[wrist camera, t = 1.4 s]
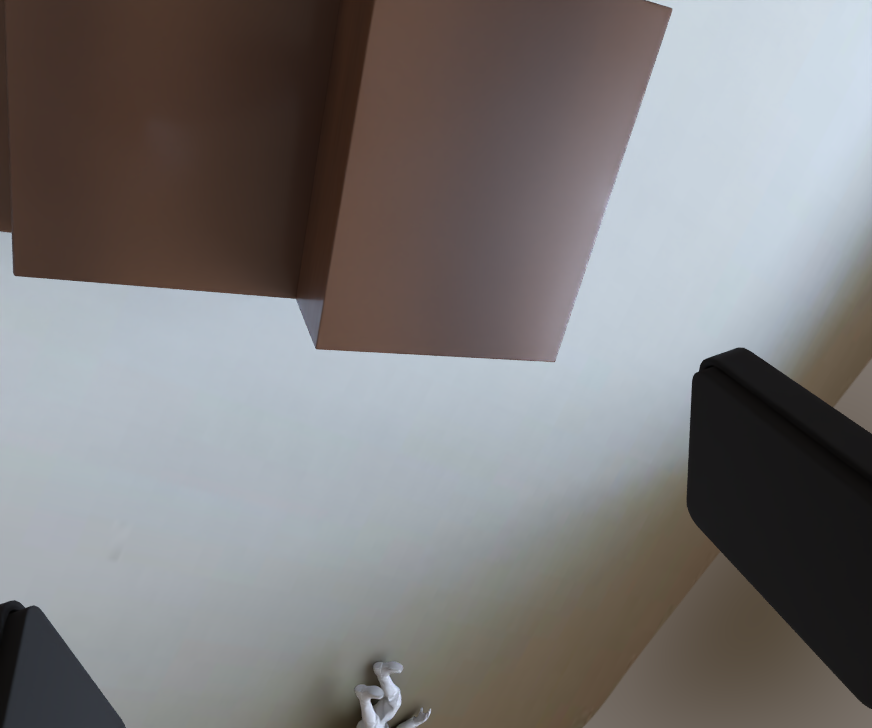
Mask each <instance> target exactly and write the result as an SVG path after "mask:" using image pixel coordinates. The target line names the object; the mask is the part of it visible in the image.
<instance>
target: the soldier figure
mask: <svg viewBox="0 0 872 728" xmlns="http://www.w3.org/2000/svg"><path fill="white" fill-rule="evenodd" d="M373 668H374V672H375V674H376V675H378V676H377V677H378V680H379V682H380V685H381V688H382V689H381V688H380V687H378V686H365V685H364V684H359V685H357V686H356V687H355V688H354V690H355V694H356V696H357V697H358V698H359V700H360V705H361V710H362V720H361V721H359V723H358V725H357V727H356V728H389V726H388V724H387V722H386V721H388V720H390V719H392V718H393V716H394V715H395V713H396V711H397V710H398V708H399V707H400V705H401V695H400V690H399V688H398V687H397V686H396V685H394V683H393V682H392V680H391V678H390V676H389V674H391V673H400V672H401V671H402V669H403V666H402V665H401V664H400V663H398V662H395V661H391V662H387V663H383V662H377V663H375V664H374V665H373ZM383 695H384V696H385V697H383ZM382 697H383V698H382ZM372 698H375V699H381V698H382V699H381V700H379V701H378V702H377V703H376V705H374V706H372V704H371V702H370V699H372ZM430 713H431V708H430V709H429V711H428V712H427V713H423V707H422V708H421V710H420V713H419V715H418V717H415V716H414V717H412V718H410V719H408V720H407V721H405V722H403V723H401V724H399V725H398V726H397V727H396V728H415V727H417V726H418V725H419V724H421V723H423V722H425V721H426V720H427V718H428V717H429V715H430Z"/></svg>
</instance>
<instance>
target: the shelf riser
mask: <svg viewBox="0 0 872 728" xmlns="http://www.w3.org/2000/svg"><path fill="white" fill-rule="evenodd" d="M671 13H672V8H669V7H666V6H663V5H660V4H656V3H653V2H650V1H646V0H0V231H1V232H11V233H12V254H13V274H14V275H15V276H22V277H35V278H47V279H59V280H72V281H84V282H96V283H109V284H121V285H133V286H146V287H158V288H170V289H183V290H195V291H207V292H220V293H232V294H244V295H257V296H269V297H281V298H294V299H296V300H297V303H298V305H299V308H300V310H301V313H302V315H303V318H304V320H305V323H306V325H307V328H308V331H309V333H310V336H311V338H312V341H313V343H314V346H315V348H316V349H323V350H341V351H360V352H378V353H397V354H416V355H434V356H453V357H471V358H490V359H509V360H527V361H546V362H555V360H556V357H557V354H558V351H559V348H560V345H561V342H562V339H563V336H564V333H565V330H566V327H567V324H568V321H569V318H570V315H571V312H572V309H573V306H574V303H575V300H576V297H577V294H578V291H579V288H580V285H581V282H582V279H583V276H584V273H585V270H586V267H587V264H588V261H589V258H590V255H591V252H592V249H593V246H594V243H595V240H596V237H597V234H598V231H599V228H600V225H601V222H602V219H603V216H604V213H605V210H606V207H607V204H608V201H609V198H610V195H611V192H612V189H613V186H614V183H615V180H616V177H617V174H618V171H619V168H620V165H621V162H622V159H623V156H624V153H625V150H626V147H627V144H628V141H629V138H630V135H631V132H632V129H633V126H634V123H635V120H636V118H637V115H638V112H639V109H640V106H641V103H642V100H643V97H644V94H645V91H646V88H647V85H648V82H649V79H650V76H651V73H652V70H653V67H654V64H655V61H656V58H657V55H658V52H659V49H660V46H661V43H662V40H663V37H664V34H665V31H666V28H667V25H668V22H669V19H670V16H671Z"/></svg>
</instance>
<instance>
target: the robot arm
mask: <svg viewBox="0 0 872 728" xmlns="http://www.w3.org/2000/svg"><path fill="white" fill-rule="evenodd" d="M687 507H688V511H689V513H690V516H691V518H692V519H693V521H694V522H695V524H696V525H697V526H698V527H699V528H700V529H701V530H702V532H703V533H704V534H705V535H706V536H707V537H708V538H709V539H710V540H711V541H712V542H713V543H714V545H715V546H716V547H717V548H718V549H719V550H720V551H721V552H722V553H723V554H724V555H725V556H726V557H727V558H728V560H729V561H731V563H732V564H733V565H734V566H735V567H736V568H737V569H738V570H739V571H740V573H741V574H742V575H743V576H744V577H745V578H746V579H747V580H748V581H749V582H750V583H751V584H752V585H753V587H755V589H756V590H757V591H758V592H759V593H760V594H761V595H762V596H763V597H764V598H765V600H766V601H767V602H768V603H769V604H770V605H771V606H772V607H773V608H774V609H775V610H776V611H777V612H778V614H779V615H780V616H782V618H783V619H784V620H785V621H786V622H787V623H788V624H789V625H790V626H791V628H792V629H793V630H795V632H796V633H797V634H798V635H799V636H800V637H801V638H802V639H803V640H804V642H805V643H806V644H807V645H808V646H809V647H810V648H811V649H812V650H813V651H814V652H815V653H816V655H818V657H819V658H820V659H821V660H822V661H823V662H824V663H825V664H826V665H827V666H828V667H829V668H830V670H832V672H833V673H834V674H835V675H836V676H837V677H838V678H839V679H840V680H841V681H842V683H843V684H844V685H845V686H846V687H847V688H848V689H849V690H850V691H851V692H852V693H853V694H854V695H855V696H856V698H857V699H858V700H860V701H861V702H862V703H863V704H864V705H865V706H867V707H869V708H871V709H872V434H871V433H870V432H868V431H867V430H865V429H864V428H862V427H861V426H859V425H858V424H856V423H855V422H853V421H852V420H850V419H849V418H847V417H846V416H845V415H843V414H842V413H840V412H839V411H837V410H836V409H834V408H833V407H831V406H830V405H828V404H827V403H826V402H824V401H823V400H821V399H820V398H818V397H817V396H815V395H814V394H812V393H811V392H809V391H808V390H807V389H805V388H804V387H802V386H801V385H799V384H798V383H796V382H795V381H793V380H792V379H790V378H789V377H787V376H786V375H785V374H783V373H782V372H780V371H779V370H777V369H776V368H774V367H773V366H771V365H770V364H768V363H767V362H765V361H764V360H763V359H761V358H760V357H758V356H757V355H755V354H754V353H752V352H751V351H749V350H747V349H745V348H736V349H733V350H730V351H727V352H724V353H721V354H718V355H716V356H713V357H710V358H707V359H705V360H703V361H702V363H701V365H700V369H699V372H697V373H695V374H694V376H693V380H692V396H691V417H690V438H689V460H688V481H687ZM0 728H126V727H125V725H124V723H123V721H122V719H121V718H120V717H119V715H118V714H117V713H116V711H115V710H114V708H113V707H112V706H111V704H110V703H109V702H108V700H107V699H106V698H105V696H104V695H103V694H102V692H101V691H100V689H99V688H98V687H97V685H96V684H95V683H94V681H93V680H92V679H91V677H90V676H89V674H88V673H87V672H86V670H85V669H84V668H83V666H82V665H81V664H80V662H79V661H78V659H77V658H76V657H75V655H74V654H73V653H72V651H71V650H70V649H69V647H68V646H67V644H66V643H65V642H64V640H63V639H62V638H61V636H60V635H59V634H58V632H57V631H56V629H55V628H54V627H53V625H52V624H51V623H50V621H49V620H48V619H47V617H46V616H45V614H44V613H43V612H42V611H41V610H40V608H39V607H37V606H30V607H27V608H25V607H24V606H23V605H22V604H21V603H20V602H17V601H15V600H14V601H9V602H6V603H3V604H0Z"/></svg>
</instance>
